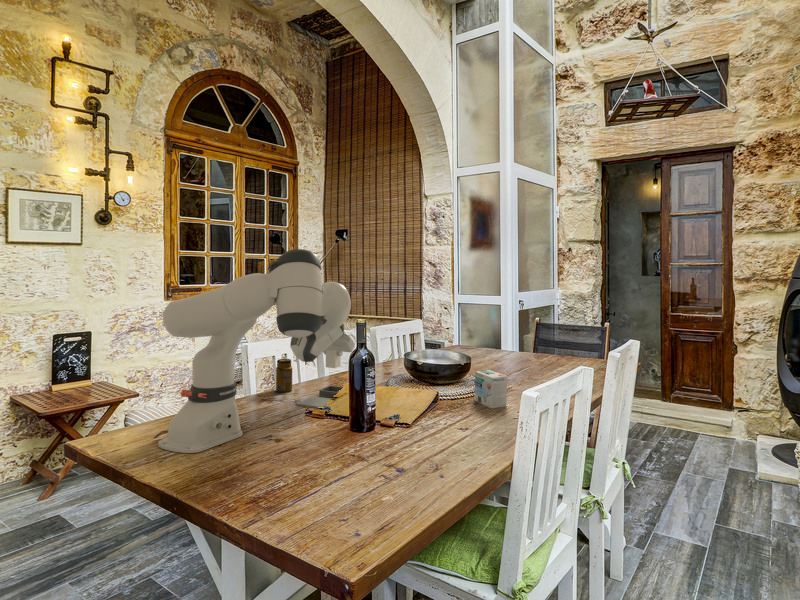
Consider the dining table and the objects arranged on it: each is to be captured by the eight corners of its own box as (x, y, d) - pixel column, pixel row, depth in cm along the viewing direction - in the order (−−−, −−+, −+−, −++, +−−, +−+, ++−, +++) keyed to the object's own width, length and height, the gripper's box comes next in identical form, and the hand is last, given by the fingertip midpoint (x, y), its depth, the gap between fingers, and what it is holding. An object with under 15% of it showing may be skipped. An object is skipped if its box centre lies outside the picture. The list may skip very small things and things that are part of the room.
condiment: (293, 388, 185) (293, 357, 184) (293, 394, 177) (293, 362, 176) (274, 389, 183) (274, 358, 182) (273, 395, 175) (273, 362, 174)
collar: (337, 398, 172) (337, 392, 172) (319, 395, 175) (319, 390, 175) (347, 392, 179) (347, 387, 179) (329, 390, 182) (329, 385, 182)
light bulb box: (473, 400, 172) (474, 371, 171) (489, 398, 175) (489, 369, 174) (491, 408, 162) (492, 377, 161) (507, 406, 165) (508, 375, 164)
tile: (321, 408, 160) (321, 407, 159) (296, 405, 163) (296, 403, 163) (336, 400, 169) (336, 399, 169) (311, 397, 172) (311, 396, 172)
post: (335, 368, 174) (335, 345, 173) (325, 367, 175) (325, 344, 175) (340, 366, 178) (340, 343, 177) (330, 365, 179) (331, 342, 178)
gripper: (350, 326, 165) (362, 349, 175) (299, 322, 172) (313, 345, 182) (344, 340, 161) (356, 363, 171) (292, 336, 168) (307, 358, 178)
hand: (333, 354), depth 177 cm, fingers closed on post, 4 cm apart
